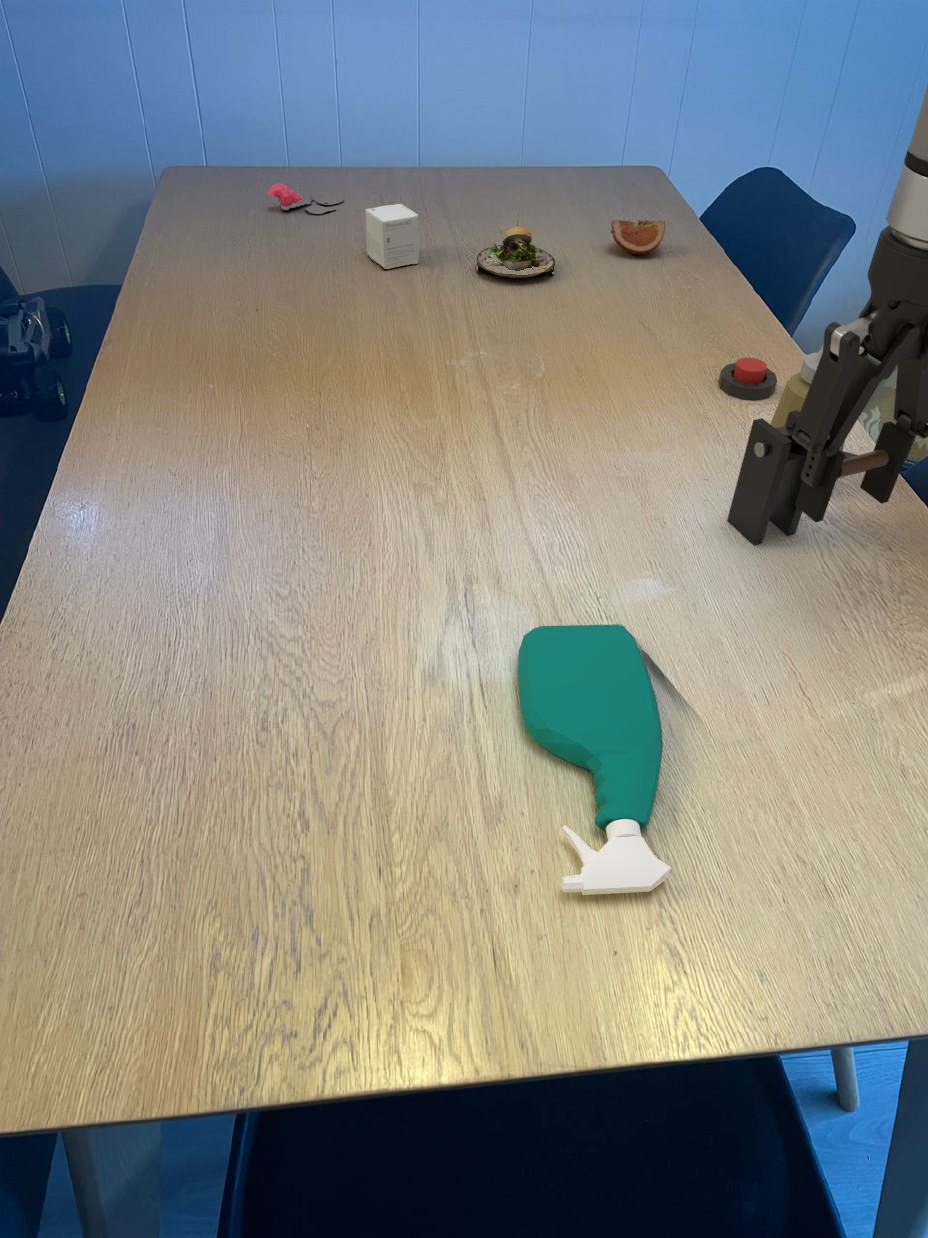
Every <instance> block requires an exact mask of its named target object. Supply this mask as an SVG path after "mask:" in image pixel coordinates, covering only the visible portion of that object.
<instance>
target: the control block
mask: <svg viewBox="0 0 928 1238" xmlns="http://www.w3.org/2000/svg"><path fill="white" fill-rule="evenodd" d="M735 366H736V362H733V363H729V364H726V365H725V366H724V367H723V368H721V369H720V373H719V377H718V387H719V389H720V390H721V391H722V392H723V393H725V394H726V395H727V396H730V397H732V398H736V399H738V400H742V401H754V402H757V401H762V400H767V399H769V398H771V397H772V395H773V394H774V393H775V391H776V387H777V384H778V378H777V374H776V373H775V372H774V371H773V370H771V369H769V368H768V367H767V370H766V373H765V377H764V381H763V382H762V383H758V384H750V383H744V382H741V381H738V380H736V379H735V378H734V376H733V375H734V370H735Z"/></svg>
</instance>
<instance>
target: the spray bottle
mask: <svg viewBox="0 0 928 1238" xmlns="http://www.w3.org/2000/svg"><path fill="white" fill-rule="evenodd" d="M640 650H641V649H640V648H639V645H638V643H637V641H636V638H635V636H633V634H632V633H630V631H629V630H628V629H627V628H626V627H625V626H624V625H620V624H575V625H571V624H570V625H568V624H567V625H541V626H537V627H534V628H532V629H531V630H529V631H528V632H527V633H525V634H523V636H522V640H521V642H520V646H519V648H518V657H517V658H518V660H517V679H518V692H519V693H518V694H519V704H520V705H519V706H520V713H521V716H522V720H523V724H524V728H525V730H527V732H528V734H529V735H530V736H531V738H532V739H533V741H534V742H536V743H537V744H539V745H540V746H541V747H543V748H544V749H546V750H547V751H548V752H550V753H551V754H552V755H554V756H555V757H557V758H559V759H562V760H564V761H566V762H568V763H570V764H573V765H575V766H578V767H579V768H583V769H586V770H589V771H590V773H591V774H592V775H593V778H592V779H593V780H592V784H593V785H594V786H595V787H596V790H595V793H594V801H595V803H596V804H597V806H598V808H599V809H598V811H597V813H596V815H595V818H594V825H595V826H596V827H598V828H599V829H600V830H601V831H602V832H603V833H605V834H606V836H607V837H606V838H607V841H606V842H605V843H604V844H603V846H602V847H601V848H600V850H598V851H597V850H595V849H593V848H591V847H590V846H589V845H588V844H587V843H586V842H585V841H584V840H583V839H582V838H581V837H580V836H579V835H578V834H577V833H576V832H574V831H573V830H572V829H570V827H568V826H567V825H566V824H564V825H563V826H562V827H561V831H562V833H563V834H564V836H565V837H566V838H567V840H568V841H569V843H570V844H571V846H572V848H574V850H575V851H576V853H577V854H578V856H579V859H580V861H581V863H582V864H581V865H582V867H581V869H580V874H574V875H572V874H571V875H566V876H561V879H560V880H561V881H560V882H561V889H562V892H563V893H581V894H582V896H586V895H587V896H590V895H591V896H592V895H608V894H628V893H629V894H630V893H648V892H651V891H653V890H654V889H655V888H657V887H658V886H659V885H661V884H662V883H663V882H665V881H666V880H667V879H669V876H670V875H669V874H670V872H671V869H672V868H671V866H670V865H669V864H667V863H666V862H664V861H662V860H660V859H659V858H658V857H657V856H656V855H655V853H653V851H652V850H651V849H650V848H649V846H648V844H647V842H646V840H645V838H644V837H643V836H642V833H641V831H644V830H646V828H647V827H648V824H649V822H650V819H651V816H652V811H653V809H654V805H655V801H656V796H657V790H658V785H659V781H660V774H661V773H660V772H661V765H662V756H663V748H664V745H663V743H664V742H663V728H662V722H661V716H660V710H659V705H658V700H657V699H658V698H657V695H656V692H655V689H654V687H653V683H652V679H651V677H650V674H649V671H648V667H647V665H646V662H645V660H644V657H643V655H642V652H641V651H640Z"/></svg>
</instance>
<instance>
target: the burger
mask: <svg viewBox="0 0 928 1238" xmlns="http://www.w3.org/2000/svg"><path fill="white" fill-rule="evenodd" d="M517 215H520V214H519V213H518V214H517ZM516 225H517V226H515V227H512V228H510V229H508V230H507V231H506V232H505V233H504V234H503V236H502V244H498V245H497V244H496V243H493V246H490V247H489V246H487V248H484V249H482V250H481V251H480V252H479V253H478V254H477V255H476V265H477V266H478V269H479V270H480V268H481V269H483V270H484V271H486V272H489V273H491V274H494V275H496V276H500V277H504V278H505V277H508V278H515V279H516V278H518V279H519V278H524V279H525V278H530V277H532V278H533V277H535V276H538V275H540V274H544V273H545V272H546V273H548V272H549V271H552V272H554V271H555V270H554V266H555V267H556V260H555V258H554V257H553V255H551V254H550V253H549V252H547V251H545V250H543V249H541V248H538V247H536V245H535V244H533V243H532V241H533V239H532V238H533V237H532V233H531V232H530V230H529V229H527V228H526V227H522V226H519V221H517V223H516ZM531 243H532V244H531ZM494 255H495V256H496V257H497V258H498V259H499V260H500V261H501V262H502V263H501V262H498V261H497V260H495V258H494V259H493V260H495V261H493V260H492V259H491V260H489V258H491V257H494ZM488 260H489V261H492V262H491V263H489V262H486V261H488ZM498 263H499V264H498ZM487 264H492V265H490V266H505V267H506V268H508V269H509V270H515V271H520V270H524V269H526V268H532V266H534V267H539V266H541V267H542V266H545V268H541V269H545V270H541V269H538V270H535V271H539V270H541V272H539V273H533V272H532V273H533V274H531V273H530V274H528V275H525V274H527V273H525V274H522V275H516V274H503V273H497V272H494V271H492V270H489V269H486V268H485V267H484V266H489V265H487ZM552 268H553V269H552ZM532 269H533V268H532ZM533 270H534V269H533Z"/></svg>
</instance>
